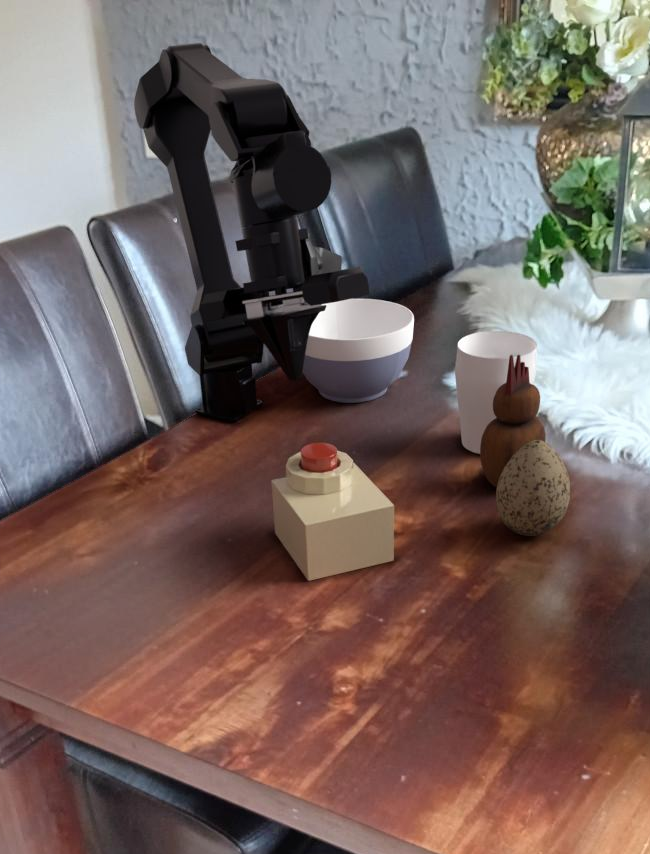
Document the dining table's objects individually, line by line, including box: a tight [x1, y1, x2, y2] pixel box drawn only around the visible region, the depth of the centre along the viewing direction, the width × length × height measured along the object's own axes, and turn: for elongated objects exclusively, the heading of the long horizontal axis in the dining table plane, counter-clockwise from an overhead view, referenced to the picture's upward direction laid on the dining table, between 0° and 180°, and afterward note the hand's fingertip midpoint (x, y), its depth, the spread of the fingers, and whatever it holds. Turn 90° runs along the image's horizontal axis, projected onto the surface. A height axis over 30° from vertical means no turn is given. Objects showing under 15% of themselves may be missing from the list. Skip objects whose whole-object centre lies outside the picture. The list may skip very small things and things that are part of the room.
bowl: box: [302, 298, 415, 404], centre depth 131 cm, size 16×16×10 cm
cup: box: [454, 330, 538, 455], centre depth 115 cm, size 9×9×12 cm
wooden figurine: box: [479, 355, 547, 488], centre depth 106 cm, size 7×6×15 cm
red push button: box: [300, 442, 338, 473], centre depth 99 cm, size 4×4×2 cm
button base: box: [270, 450, 395, 582], centre depth 99 cm, size 11×9×8 cm
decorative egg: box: [495, 440, 571, 537], centre depth 99 cm, size 7×7×10 cm
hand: (295, 380), depth 107 cm, fingers closed
